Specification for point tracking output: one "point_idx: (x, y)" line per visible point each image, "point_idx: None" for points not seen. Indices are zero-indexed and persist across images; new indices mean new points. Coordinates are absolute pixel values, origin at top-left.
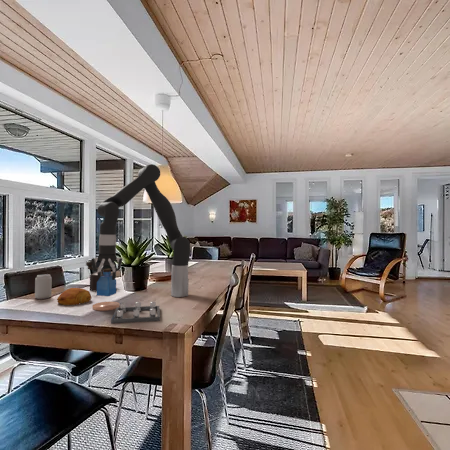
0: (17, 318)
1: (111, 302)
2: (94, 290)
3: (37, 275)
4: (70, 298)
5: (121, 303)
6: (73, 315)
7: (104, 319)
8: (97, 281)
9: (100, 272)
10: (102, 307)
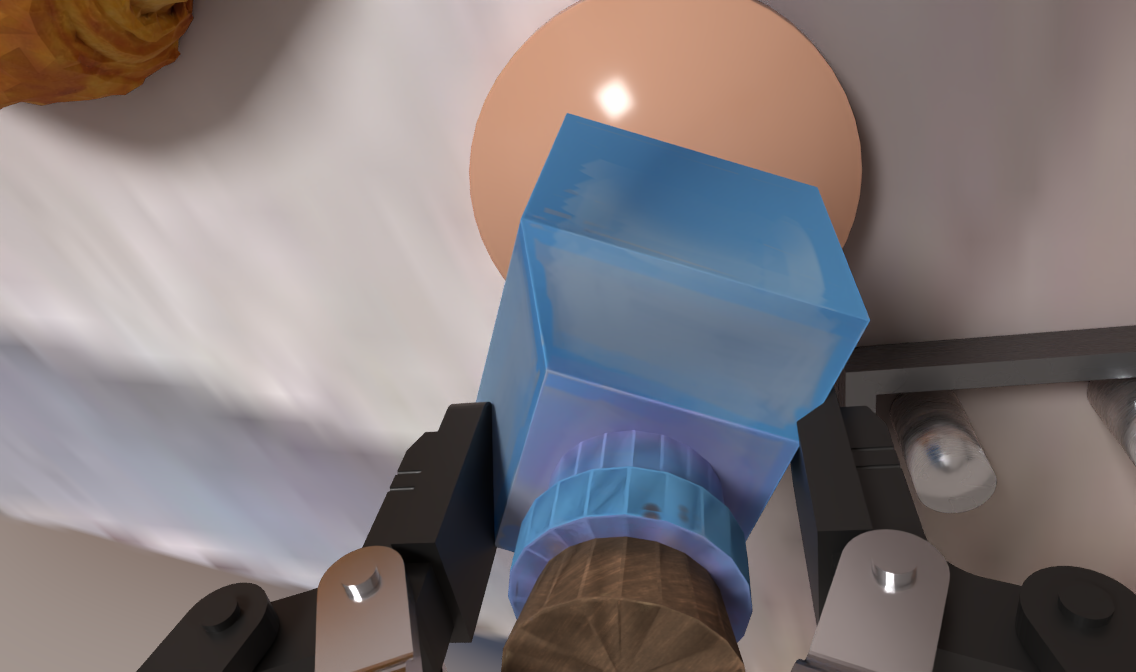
0: (17, 496)
1: (707, 55)
2: None
3: None
4: (46, 97)
5: (934, 486)
6: None
7: (760, 586)
8: None
9: (464, 640)
10: None
